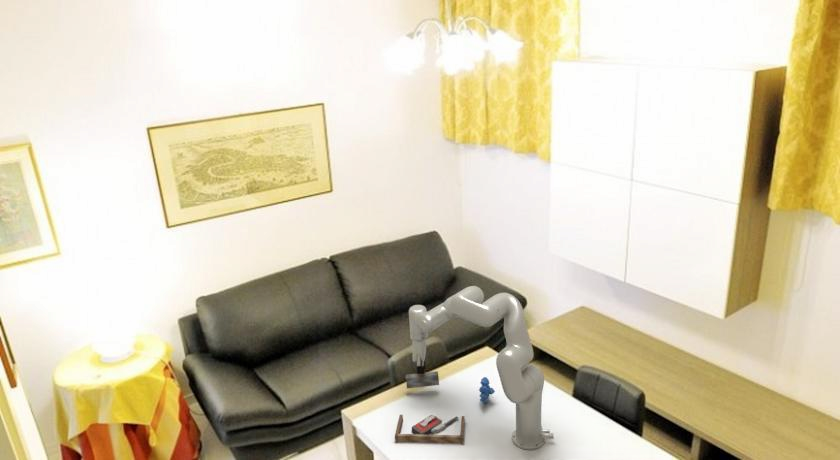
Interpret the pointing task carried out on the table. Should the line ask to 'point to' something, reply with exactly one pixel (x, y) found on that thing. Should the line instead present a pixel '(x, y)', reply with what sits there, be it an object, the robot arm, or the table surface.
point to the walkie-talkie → (430, 425)
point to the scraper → (422, 379)
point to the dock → (429, 438)
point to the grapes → (485, 390)
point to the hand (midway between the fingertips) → (421, 371)
